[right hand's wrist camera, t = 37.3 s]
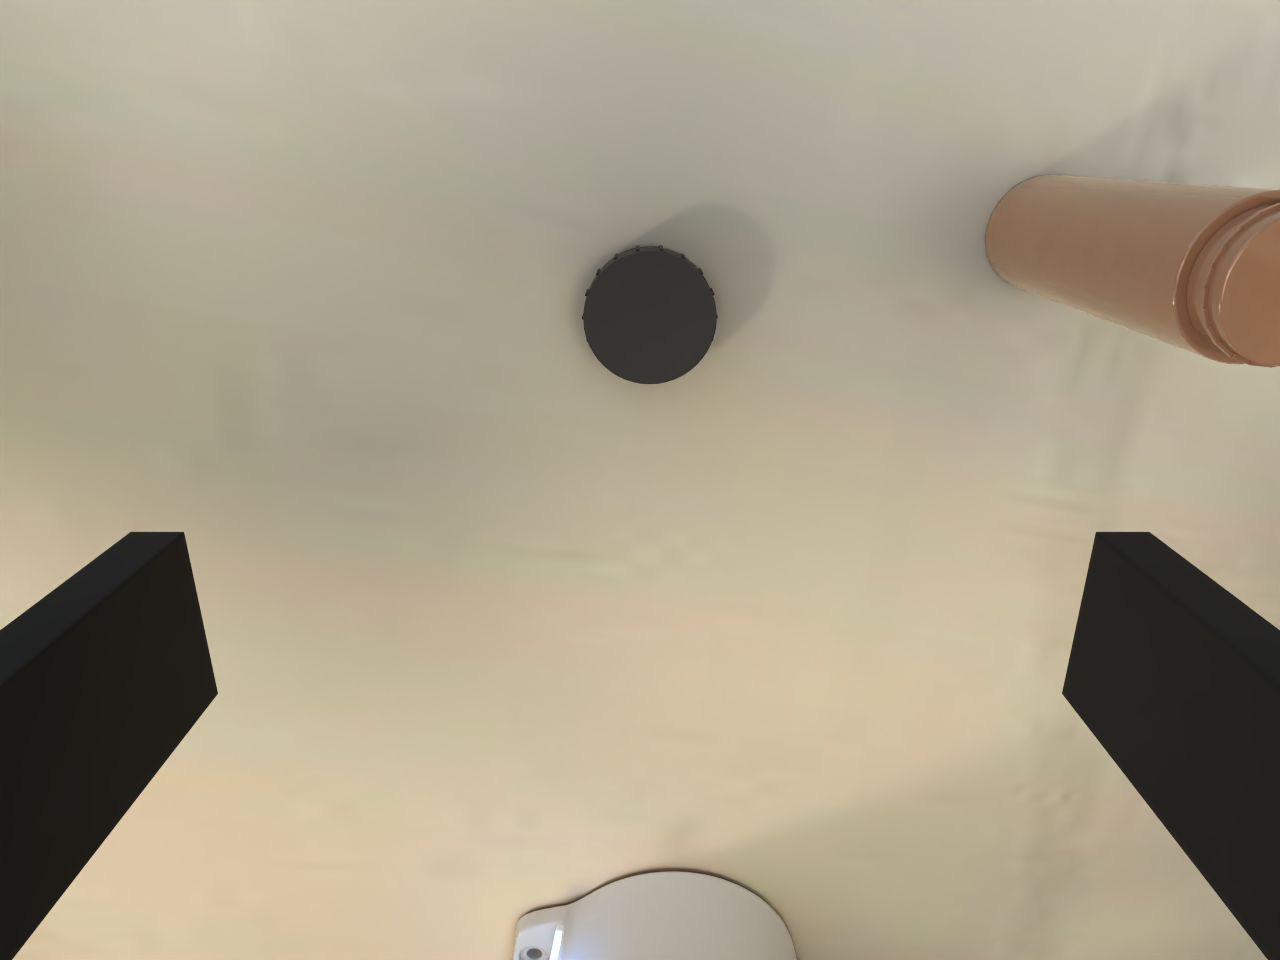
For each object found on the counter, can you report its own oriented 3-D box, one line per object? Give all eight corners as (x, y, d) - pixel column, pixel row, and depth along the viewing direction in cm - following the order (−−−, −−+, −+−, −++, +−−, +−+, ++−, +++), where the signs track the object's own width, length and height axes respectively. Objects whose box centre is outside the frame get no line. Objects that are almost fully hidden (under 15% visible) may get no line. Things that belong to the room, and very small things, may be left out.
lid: (673, 218, 35) (675, 222, 34) (737, 335, 37) (741, 344, 36) (559, 287, 36) (556, 294, 35) (627, 398, 38) (626, 409, 37)
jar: (1095, 280, 36) (1382, 363, 22) (985, 297, 37) (1200, 390, 23) (1098, 165, 35) (1410, 178, 21) (983, 184, 35) (1214, 209, 21)
